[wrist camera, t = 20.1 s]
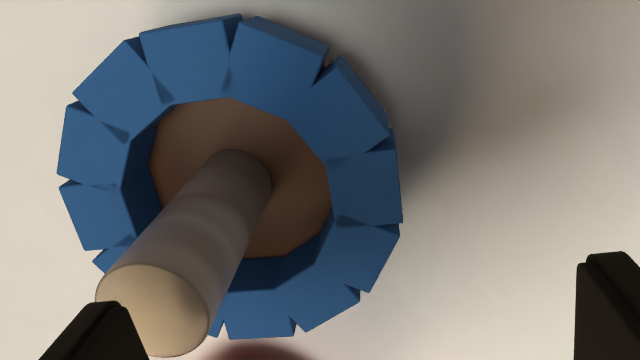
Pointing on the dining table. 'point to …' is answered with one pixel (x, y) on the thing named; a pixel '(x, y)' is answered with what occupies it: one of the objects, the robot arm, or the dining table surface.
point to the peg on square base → (214, 216)
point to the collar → (262, 93)
